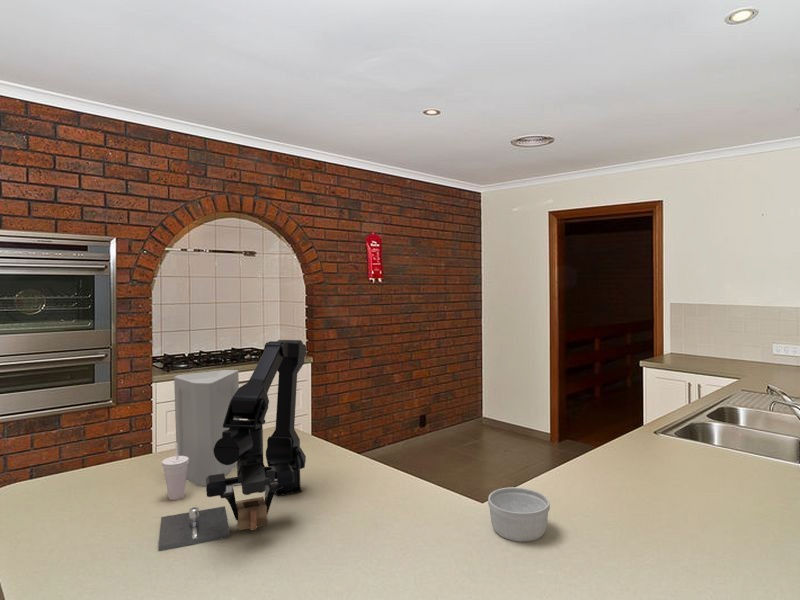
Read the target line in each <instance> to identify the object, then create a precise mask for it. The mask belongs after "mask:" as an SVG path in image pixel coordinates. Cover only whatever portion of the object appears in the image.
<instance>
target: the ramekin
mask: <svg viewBox="0 0 800 600" xmlns="http://www.w3.org/2000/svg"><path fill="white" fill-rule="evenodd" d="M487 499H488V500H487V505H488V507H489V515H490V516H489V517H490V522H491V526H492V528H493V530H494V531H495V533H497V535H499V536H501V538H503V539H505V540H506V539H507V540H509V541H512V542H513V541H514V542H521V543H526V542H534V541H536V540H539V539H540V538H541V537H542V536H543V535H544V534H545V532H547V531H546V530H547V525H548V520H549V519H548V518H549V512H550V510H551V509H550V508H551V506H550V505H551V504H550V500H549V498H548V497H547V496H545V495H544V494H543V493H541V492H539V491H537V490H533V489H531V488H527V487H525V488H524V487H519V486H518V487H516V486H515V487H509V486H508V487H503V488H498V489H496V490H493V491H491V493H489V495H488V497H487Z"/></svg>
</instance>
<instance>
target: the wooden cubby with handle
mask: <svg viewBox="0 0 800 600" xmlns="http://www.w3.org/2000/svg"><path fill="white" fill-rule="evenodd" d="M236 506H237V512H238V520H236V522H237V527H238V530H239V531H242V530H243V531H244V530H246V529H247V530H248V529H250V530H251V531H252V530H257V528H258V527H263V526H268V514H267V506H266V503H265V497H264V496H259V497H252V498H247V499H241V500H236Z"/></svg>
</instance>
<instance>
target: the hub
mask: <svg viewBox="0 0 800 600" xmlns="http://www.w3.org/2000/svg"><path fill="white" fill-rule="evenodd" d="M199 508H200V507H197V506H195V507H191V508H189V509H188V512H183V513H177V514H172V515H165V516H161V517H160V526H159V535H158V536H159V538H158V547H157V549H158V551H159V552H160V551H166V550H169V549H175V548H179V547H180V548H181V547H186V546H192V545H197V544H201V543H207V542H212V541H216V540H217V539H218V540H222V539H221V538H223V539H227V537H228V538H230V537H231V535H230V526H229V520H228V515H227V510H226V506H225V505H224V506H219V507H213V508H205V509H201V510H200V509H199Z"/></svg>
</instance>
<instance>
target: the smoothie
mask: <svg viewBox="0 0 800 600" xmlns="http://www.w3.org/2000/svg"><path fill="white" fill-rule="evenodd" d="M188 463H189V458H188V457H186V456H178V443H175V456H174V455H173V456H170V457H167V458H164V459H163V460H162V461H161V467H162V468H163V472H164V478H165V479H164V480H165V486H166V490H167V495H168V500H170V501H176V500H177V501H178V500H181V499H183V498H184V497H185V491H186V481H187V480H186V474H187V464H188Z"/></svg>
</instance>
